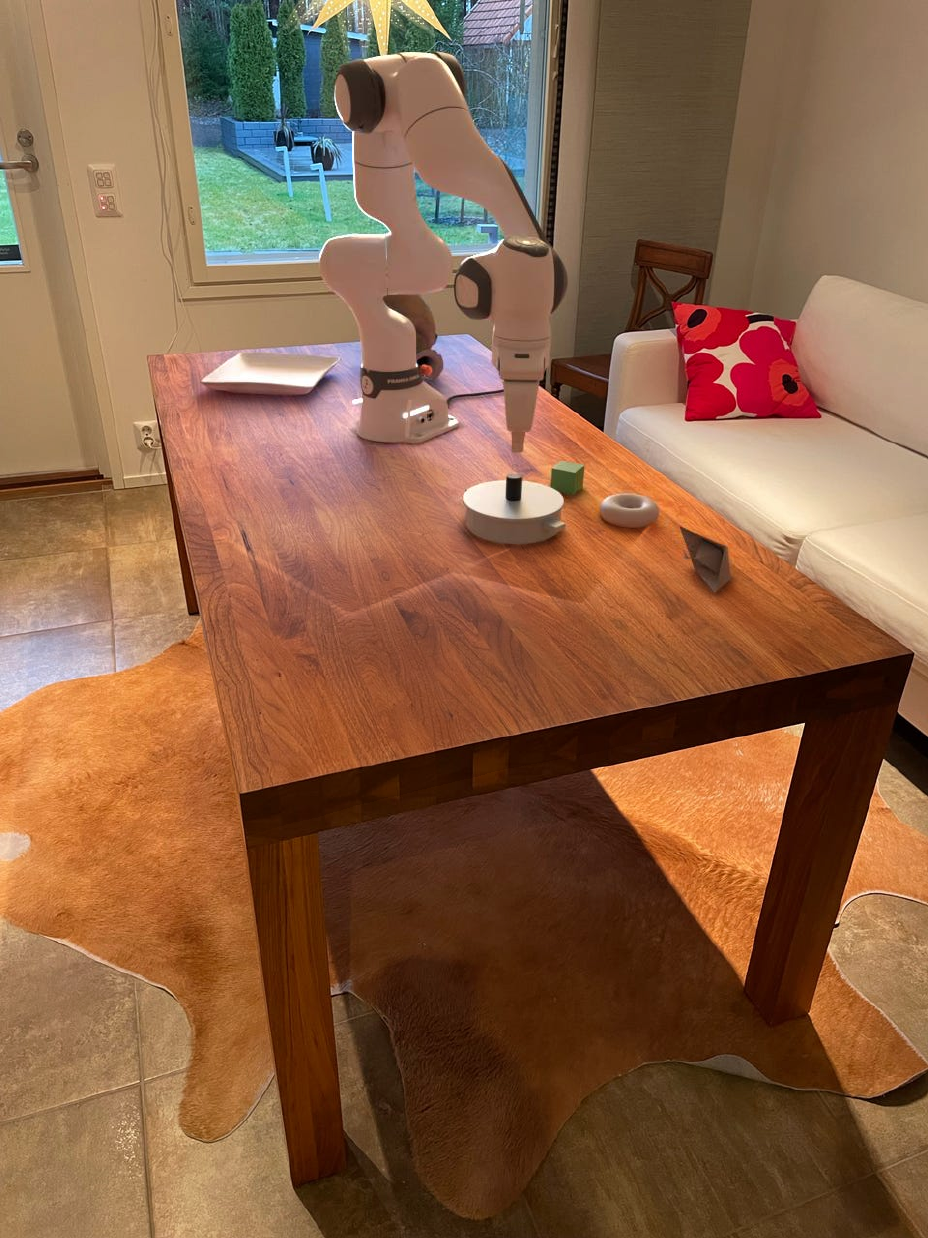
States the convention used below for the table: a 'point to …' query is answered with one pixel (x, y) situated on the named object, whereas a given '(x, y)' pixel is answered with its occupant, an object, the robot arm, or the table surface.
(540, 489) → the pan lid
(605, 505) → the donut
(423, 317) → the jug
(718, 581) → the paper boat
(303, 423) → the table surface
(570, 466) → the block
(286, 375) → the square plate
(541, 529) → the pan
